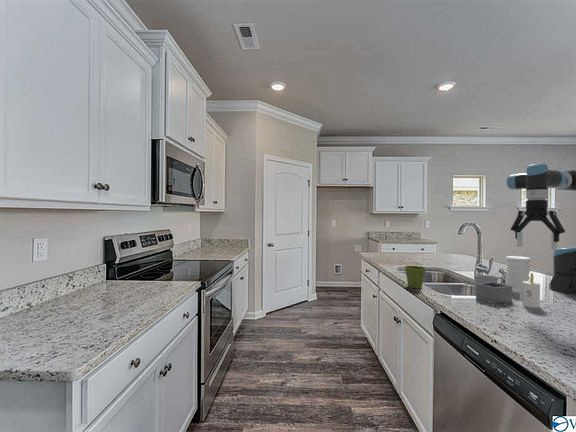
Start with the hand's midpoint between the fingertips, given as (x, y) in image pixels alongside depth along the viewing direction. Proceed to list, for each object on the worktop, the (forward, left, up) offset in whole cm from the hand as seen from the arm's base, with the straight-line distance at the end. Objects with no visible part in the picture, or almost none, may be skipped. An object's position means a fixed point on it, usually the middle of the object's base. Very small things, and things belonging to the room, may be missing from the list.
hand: (535, 248), depth 141 cm
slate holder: (+5, -16, -26) cm, 31 cm away
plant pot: (+20, -51, -27) cm, 60 cm away
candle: (-1, -3, -27) cm, 27 cm away
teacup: (-10, -29, -27) cm, 40 cm away
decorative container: (-24, -23, -27) cm, 42 cm away
